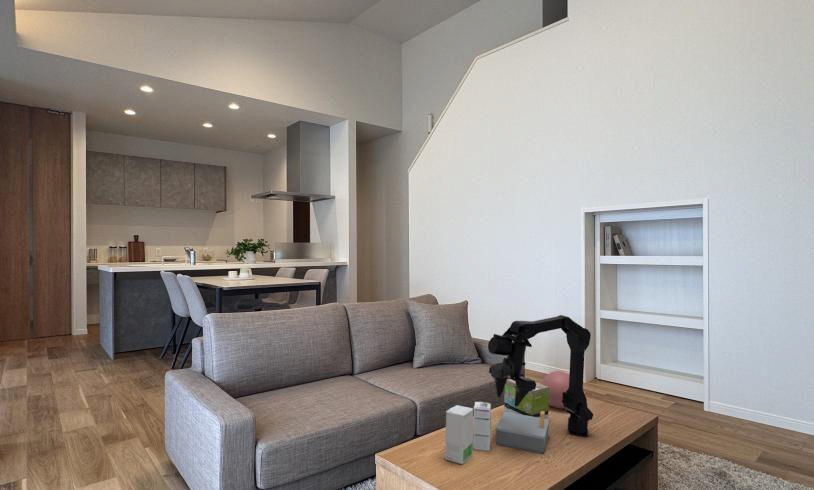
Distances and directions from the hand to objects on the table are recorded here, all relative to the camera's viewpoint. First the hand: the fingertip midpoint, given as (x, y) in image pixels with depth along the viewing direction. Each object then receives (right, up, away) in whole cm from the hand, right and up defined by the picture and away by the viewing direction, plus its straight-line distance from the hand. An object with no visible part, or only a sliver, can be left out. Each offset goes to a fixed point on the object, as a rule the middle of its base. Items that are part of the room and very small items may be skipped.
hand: (507, 401), depth 159 cm
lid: (+6, -10, +3) cm, 12 cm away
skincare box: (-18, -15, -11) cm, 26 cm away
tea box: (+12, -15, +22) cm, 30 cm away
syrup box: (-9, -15, -3) cm, 18 cm away
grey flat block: (+6, -15, +3) cm, 16 cm away
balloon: (+32, -15, +35) cm, 49 cm away
